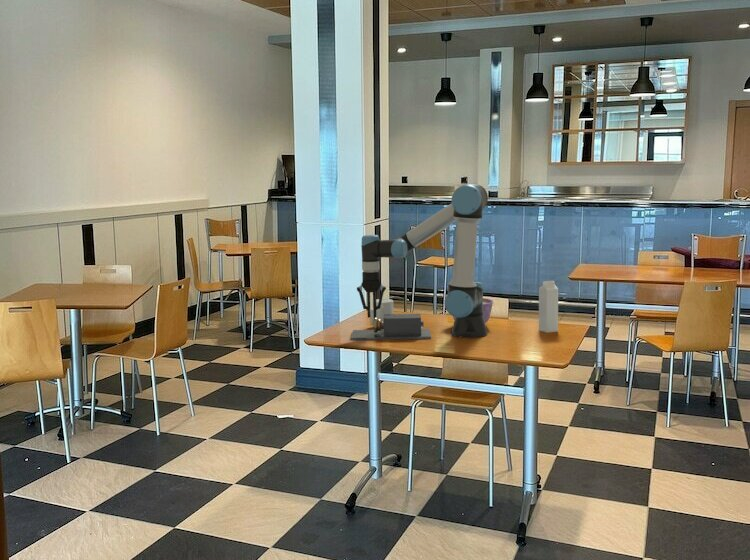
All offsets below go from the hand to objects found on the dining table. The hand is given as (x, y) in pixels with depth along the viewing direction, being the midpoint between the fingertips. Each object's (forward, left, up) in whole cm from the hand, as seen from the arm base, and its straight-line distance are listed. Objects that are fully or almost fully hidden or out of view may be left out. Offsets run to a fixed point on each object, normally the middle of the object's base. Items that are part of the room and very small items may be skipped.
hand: (372, 324), depth 318 cm
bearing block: (-6, -6, -5) cm, 9 cm away
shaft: (-8, -8, -3) cm, 12 cm away
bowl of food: (-18, -44, -5) cm, 48 cm away
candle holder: (+12, -17, -5) cm, 22 cm away
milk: (-50, -58, -5) cm, 77 cm away
